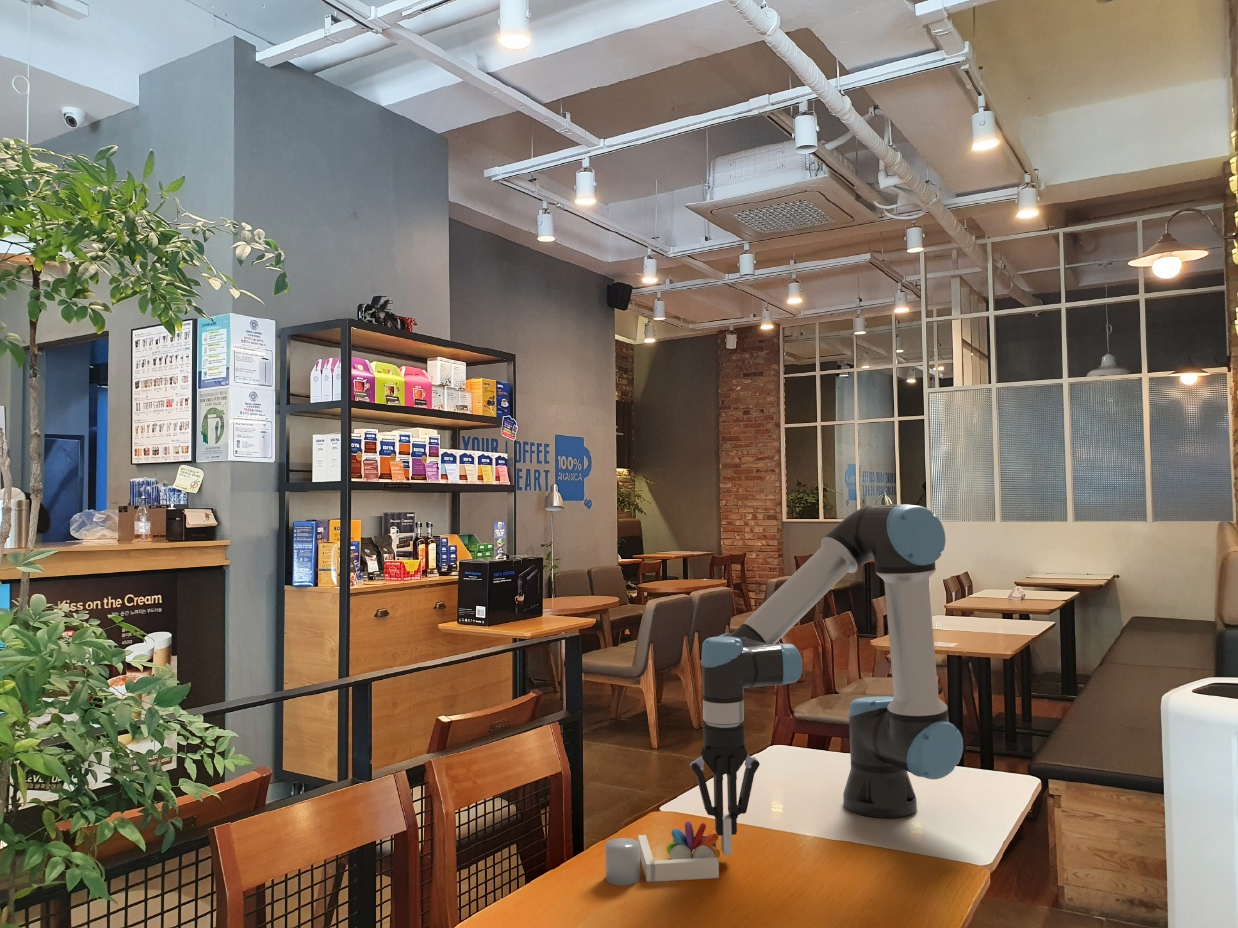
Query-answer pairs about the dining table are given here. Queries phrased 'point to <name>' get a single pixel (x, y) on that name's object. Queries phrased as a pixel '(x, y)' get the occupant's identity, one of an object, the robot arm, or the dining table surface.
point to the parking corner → (675, 866)
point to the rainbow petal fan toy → (693, 844)
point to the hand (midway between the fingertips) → (726, 852)
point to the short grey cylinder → (622, 861)
